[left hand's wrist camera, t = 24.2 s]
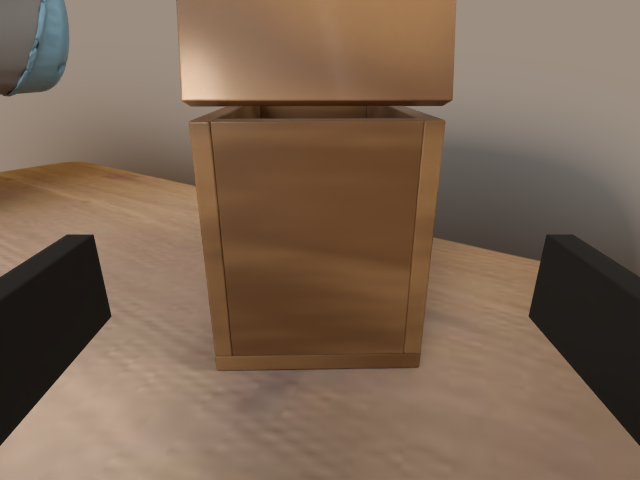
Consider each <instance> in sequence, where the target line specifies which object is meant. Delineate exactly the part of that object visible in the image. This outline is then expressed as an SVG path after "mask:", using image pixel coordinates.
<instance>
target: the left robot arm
mask: <svg viewBox="0 0 640 480" xmlns="http://www.w3.org/2000/svg"><path fill="white" fill-rule="evenodd" d="M110 317H111V312H110V308H109V303H108V299H107V294H106V290H105V285H104V280H103V276H102V271H101V267H100V262H99V258H98V253H97V248H96V244H95V239H94V235H66V236H64V237H63V238H61V239H59V240H58V241H56V242H55V243H53V244H52V245H50V246H48V247H47V248H45V249H44V250H42V251H41V252H39V253H37V254H36V255H34V256H33V257H31V258H30V259H28V260H26V261H25V262H23V263H22V264H20V265H19V266H17V267H15V268H14V269H12V270H11V271H9V272H8V273H6V274H4V275H3V276H1V277H0V445H1V444H2V443H3V442H4V441H5V440H6V438H7V437H8V436H9V435H10V434H11V433H12V431H13V430H14V429H15V428H16V427H17V426H18V425H19V423H20V422H21V421H22V420H23V419H24V418H25V416H26V415H27V414H28V413H29V412H30V411H31V409H32V408H33V407H34V406H35V405H36V404H37V402H38V401H39V400H40V399H41V398H42V397H43V395H44V394H45V393H46V392H47V391H48V390H49V388H50V387H51V386H52V385H53V384H54V383H55V381H56V380H57V379H58V378H59V377H60V376H61V374H62V373H63V372H64V371H65V370H66V369H67V367H68V366H69V365H70V364H71V363H72V362H73V360H74V359H75V358H76V357H77V356H78V355H79V354H80V352H81V351H82V350H83V349H84V348H85V347H86V345H87V344H88V343H89V342H90V341H91V340H92V338H93V337H94V336H95V335H96V334H97V333H98V331H99V330H100V329H101V328H102V327H103V326H104V324H105V323H106V322H107V321H108V320H109V319H110ZM529 317H530V319H531V320H532V321H533V322H534V323H535V324H536V326H537V327H538V328H539V329H540V330H541V331H542V333H543V334H544V335H545V336H546V337H547V338H548V340H549V341H550V342H551V343H552V344H553V345H554V347H555V348H556V349H557V350H558V351H559V352H560V354H561V355H562V356H563V357H564V358H565V359H566V360H567V362H568V363H569V364H570V365H571V366H572V367H573V369H574V370H575V371H576V372H577V373H578V374H579V376H580V377H581V378H582V379H583V380H584V381H585V383H586V384H587V385H588V386H589V387H590V388H591V390H592V391H593V392H594V393H595V394H596V395H597V397H598V398H599V399H600V400H601V401H602V402H603V404H604V405H605V406H606V407H607V408H608V409H609V411H610V412H611V413H612V414H613V415H614V416H615V418H616V419H617V420H618V421H619V422H620V423H621V425H622V426H623V427H624V428H625V429H626V430H627V431H628V433H629V434H630V435H631V436H632V437H633V438H634V440H635V441H636V442H637V443H638V444H639V445H640V277H639V276H637V275H635V274H634V273H632V272H631V271H629V270H628V269H626V268H624V267H623V266H621V265H620V264H618V263H617V262H615V261H614V260H612V259H610V258H609V257H607V256H606V255H604V254H602V253H601V252H599V251H598V250H596V249H595V248H593V247H592V246H590V245H588V244H587V243H585V242H584V241H582V240H581V239H579V238H577V237H576V236H574V235H546V239H545V244H544V248H543V253H542V258H541V262H540V267H539V271H538V276H537V280H536V285H535V290H534V294H533V299H532V303H531V308H530V312H529Z"/></svg>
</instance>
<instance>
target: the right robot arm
mask: <svg viewBox="0 0 640 480" xmlns="http://www.w3.org/2000/svg"><path fill="white" fill-rule="evenodd" d="M68 51H69V25H68V17H67V11H66V6H65V3H64V0H0V94H2V95H3V96H12V95H15V94H20V93H33V92H43V91H47V90H49V89H51V88H52V87H54V86H55V85H56V84H57V83H58V82H59V80H60V79H61V77H62V75H63V73H64V70H65V66H66V62H67V58H68Z"/></svg>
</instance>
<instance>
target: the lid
mask: <svg viewBox="0 0 640 480" xmlns="http://www.w3.org/2000/svg"><path fill="white" fill-rule="evenodd" d="M176 1H177V20H178V40H179V60H180V80H181V99H182V101H183V102H185V103H186V104H188V105H189V106H443V105H445V104H446V103H448V102H450V101H452V99H453V73H454V46H455V19H456V0H176Z"/></svg>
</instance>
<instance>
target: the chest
mask: <svg viewBox="0 0 640 480" xmlns="http://www.w3.org/2000/svg"><path fill="white" fill-rule="evenodd" d="M189 130H190V139H191V148H192V156H193V165H194V174H195V182H196V191H197V200H198V209H199V217H200V226H201V235H202V243H203V252H204V261H205V269H206V278H207V287H208V295H209V304H210V313H211V322H212V330H213V339H214V348H215V355H216V357H215V358H216V367H217V370H271V369H333V368H395V367H419V361H420V351H421V342H422V333H423V324H424V314H425V305H426V296H427V287H428V277H429V268H430V259H431V250H432V241H433V231H434V222H435V213H436V204H437V194H438V185H439V176H440V167H441V158H442V149H443V139H444V130H445V120H443V119H440V118H437V117H434V116H431V115H428V114H425V113H422V112H419V111H416V110H414V109H411V108H408V107H405V106H227V107H224V108H222V109H219V110H217V111H214V112H212V113H209V114H206V115H204V116H201V117H199V118H196V119H194V120H191V121H189Z"/></svg>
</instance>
